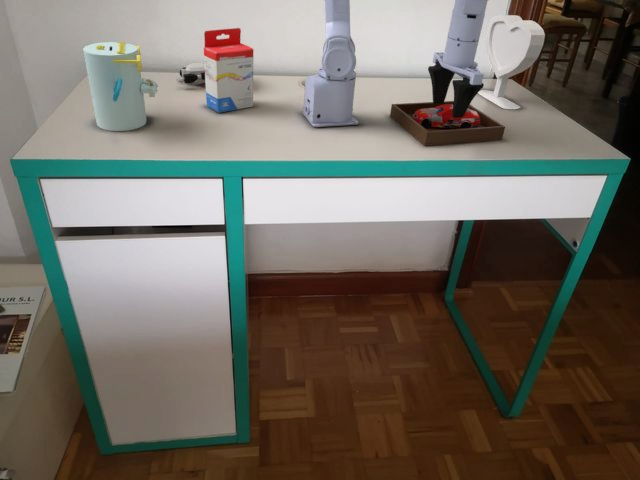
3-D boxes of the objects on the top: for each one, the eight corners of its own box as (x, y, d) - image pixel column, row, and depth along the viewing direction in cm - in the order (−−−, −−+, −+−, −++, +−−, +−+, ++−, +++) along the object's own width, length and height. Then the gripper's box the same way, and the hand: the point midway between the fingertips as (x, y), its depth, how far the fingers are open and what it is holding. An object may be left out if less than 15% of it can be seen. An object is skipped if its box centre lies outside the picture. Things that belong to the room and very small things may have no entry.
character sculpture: (164, 141, 90) (156, 63, 82) (93, 145, 87) (78, 63, 79) (159, 102, 106) (151, 33, 98) (98, 104, 102) (86, 33, 95)
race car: (413, 127, 102) (416, 108, 100) (410, 118, 107) (413, 99, 104) (479, 133, 102) (484, 113, 100) (474, 123, 106) (479, 104, 104)
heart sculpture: (470, 89, 128) (488, 10, 118) (487, 88, 129) (507, 11, 119) (507, 111, 116) (531, 26, 106) (526, 110, 117) (551, 26, 107)
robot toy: (176, 94, 112) (245, 93, 113) (172, 73, 110) (243, 72, 110) (186, 77, 123) (249, 76, 123) (183, 58, 120) (248, 57, 120)
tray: (424, 146, 96) (427, 132, 94) (389, 116, 108) (391, 104, 106) (501, 139, 101) (505, 126, 100) (460, 112, 113) (463, 100, 111)
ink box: (218, 114, 102) (215, 36, 94) (206, 106, 105) (201, 30, 97) (254, 106, 107) (254, 32, 99) (241, 99, 110) (240, 26, 102)
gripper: (504, 48, 90) (485, 122, 98) (460, 29, 102) (446, 96, 109) (470, 48, 88) (453, 124, 96) (429, 29, 99) (416, 98, 107)
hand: (447, 109), depth 102 cm, fingers open, 7 cm apart
